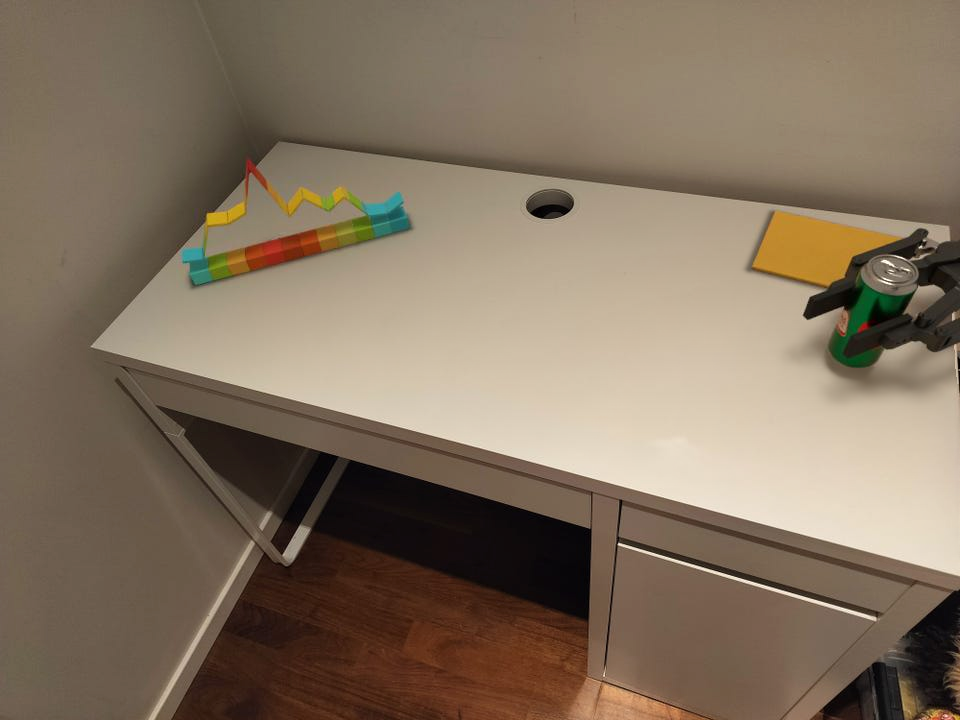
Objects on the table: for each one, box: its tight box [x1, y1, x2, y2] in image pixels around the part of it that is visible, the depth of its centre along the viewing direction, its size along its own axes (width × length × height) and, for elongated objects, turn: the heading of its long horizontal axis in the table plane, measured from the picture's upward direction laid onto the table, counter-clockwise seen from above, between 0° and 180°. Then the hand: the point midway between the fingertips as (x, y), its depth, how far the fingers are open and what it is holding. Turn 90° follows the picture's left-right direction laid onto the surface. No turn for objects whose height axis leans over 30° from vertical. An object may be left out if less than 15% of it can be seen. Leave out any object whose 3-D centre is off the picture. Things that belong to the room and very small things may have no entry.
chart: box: [181, 157, 410, 286], centre depth 89 cm, size 30×3×15 cm, turn 107°
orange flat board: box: [751, 210, 904, 289], centre depth 84 cm, size 16×12×1 cm
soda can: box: [827, 255, 920, 369], centre depth 67 cm, size 5×5×12 cm
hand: (828, 327), depth 66 cm, fingers closed on soda can, 5 cm apart
